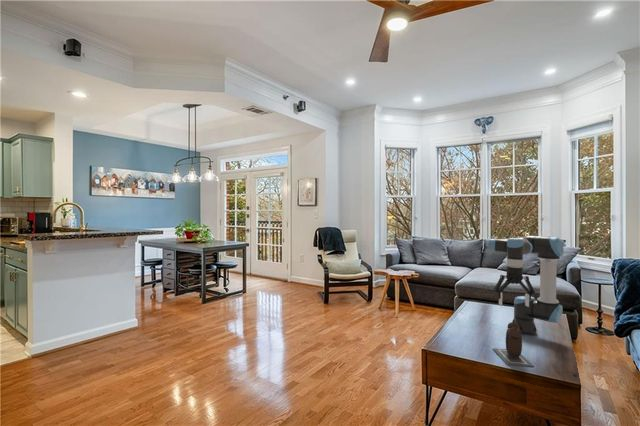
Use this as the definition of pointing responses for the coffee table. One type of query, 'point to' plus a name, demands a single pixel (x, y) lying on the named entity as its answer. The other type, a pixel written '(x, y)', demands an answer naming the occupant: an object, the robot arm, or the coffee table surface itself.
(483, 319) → the coffee table surface
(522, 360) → the rest mat
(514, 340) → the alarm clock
